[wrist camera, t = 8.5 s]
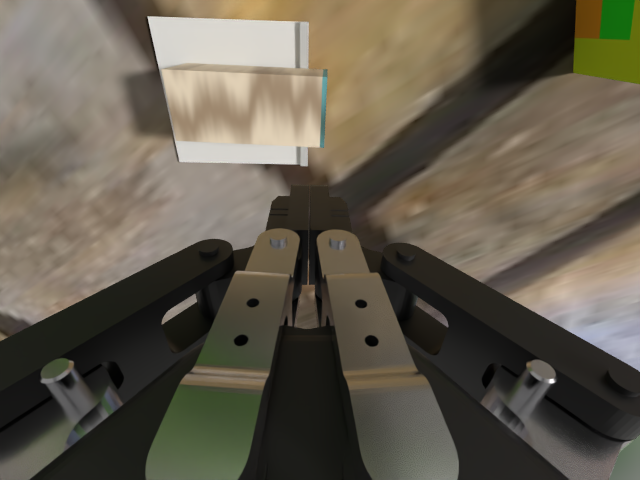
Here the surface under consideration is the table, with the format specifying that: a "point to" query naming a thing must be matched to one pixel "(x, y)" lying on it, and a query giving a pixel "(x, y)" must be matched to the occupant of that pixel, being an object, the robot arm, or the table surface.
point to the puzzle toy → (608, 39)
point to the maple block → (247, 104)
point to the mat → (231, 49)
